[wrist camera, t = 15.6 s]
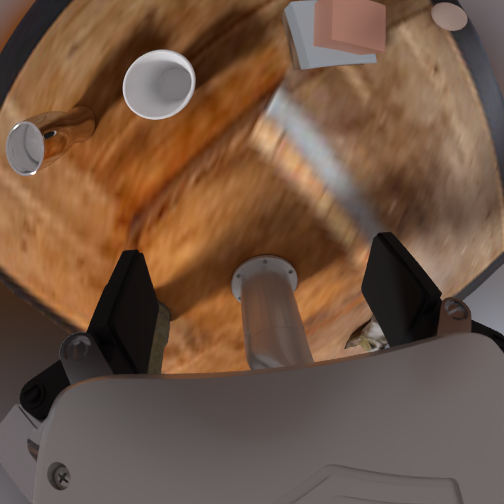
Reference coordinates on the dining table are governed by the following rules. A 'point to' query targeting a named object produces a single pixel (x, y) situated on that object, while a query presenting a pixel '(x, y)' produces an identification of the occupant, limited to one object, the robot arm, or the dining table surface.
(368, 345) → the ceramic sculpture
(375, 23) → the rust cube
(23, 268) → the dining table surface
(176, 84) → the dixie cup
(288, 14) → the slate block
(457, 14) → the egg
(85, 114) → the beer glass
